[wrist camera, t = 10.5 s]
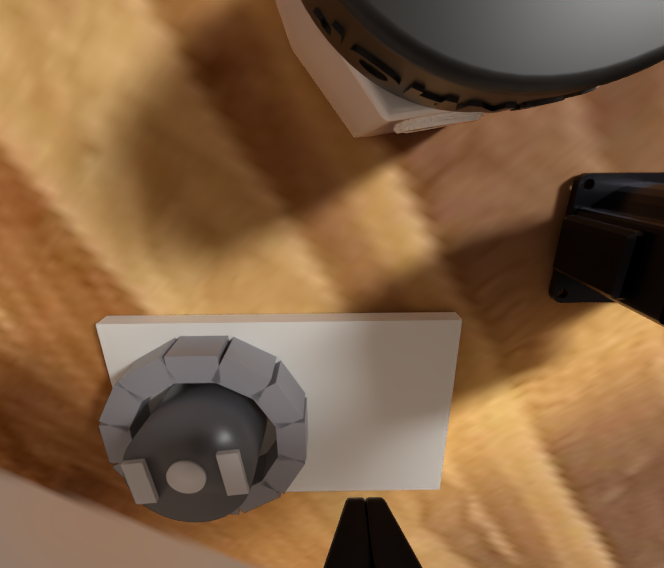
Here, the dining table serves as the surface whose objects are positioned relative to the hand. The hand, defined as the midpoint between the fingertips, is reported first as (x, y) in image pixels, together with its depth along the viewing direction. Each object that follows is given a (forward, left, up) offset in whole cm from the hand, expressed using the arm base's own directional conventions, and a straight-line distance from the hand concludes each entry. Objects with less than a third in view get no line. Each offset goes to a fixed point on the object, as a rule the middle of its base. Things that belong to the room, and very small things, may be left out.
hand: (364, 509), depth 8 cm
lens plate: (+3, +7, -12) cm, 14 cm away
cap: (+7, +7, -11) cm, 15 cm away
